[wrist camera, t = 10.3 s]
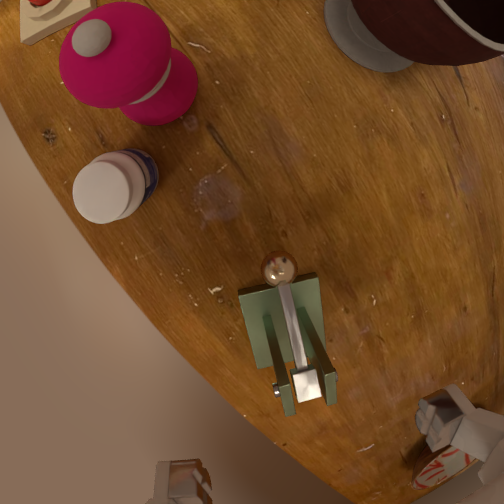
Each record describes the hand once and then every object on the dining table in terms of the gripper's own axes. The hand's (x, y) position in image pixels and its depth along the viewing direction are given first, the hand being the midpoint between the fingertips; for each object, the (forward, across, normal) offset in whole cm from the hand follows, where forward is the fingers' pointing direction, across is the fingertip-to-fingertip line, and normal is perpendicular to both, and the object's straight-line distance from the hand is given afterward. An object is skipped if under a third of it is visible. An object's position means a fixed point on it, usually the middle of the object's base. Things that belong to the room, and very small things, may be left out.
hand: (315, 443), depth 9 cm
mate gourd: (+26, -18, -21) cm, 38 cm away
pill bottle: (+26, +10, -8) cm, 29 cm away
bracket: (+26, -2, +12) cm, 28 cm away
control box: (+26, +15, -32) cm, 44 cm away
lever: (+19, -2, +8) cm, 21 cm away
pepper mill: (+26, +5, -16) cm, 31 cm away
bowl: (+26, -37, +60) cm, 75 cm away
